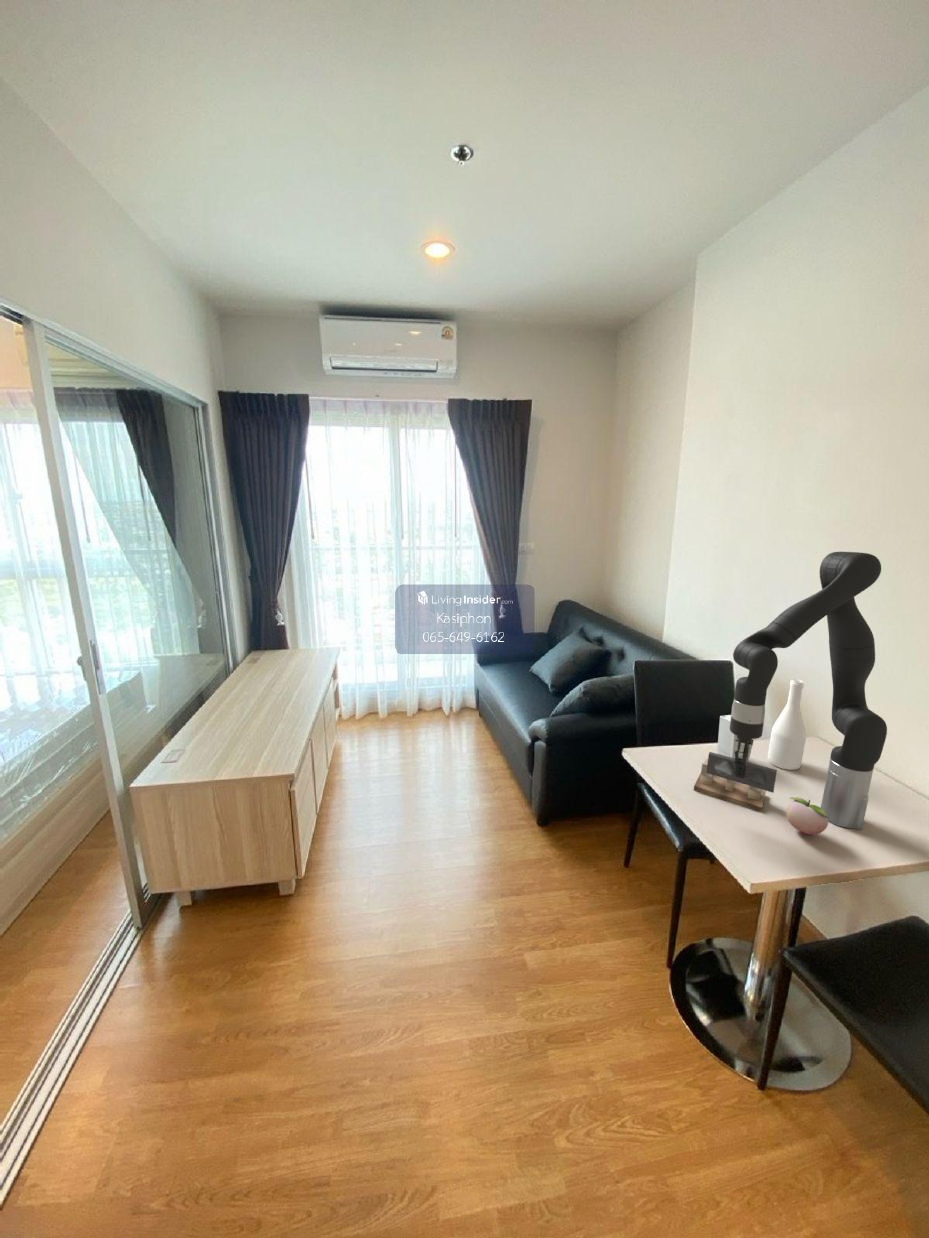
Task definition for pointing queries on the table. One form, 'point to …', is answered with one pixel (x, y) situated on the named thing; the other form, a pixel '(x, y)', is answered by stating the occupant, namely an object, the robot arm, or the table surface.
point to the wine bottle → (789, 732)
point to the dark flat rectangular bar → (753, 772)
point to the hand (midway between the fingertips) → (740, 775)
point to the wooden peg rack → (729, 790)
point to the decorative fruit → (806, 816)
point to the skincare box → (726, 738)
